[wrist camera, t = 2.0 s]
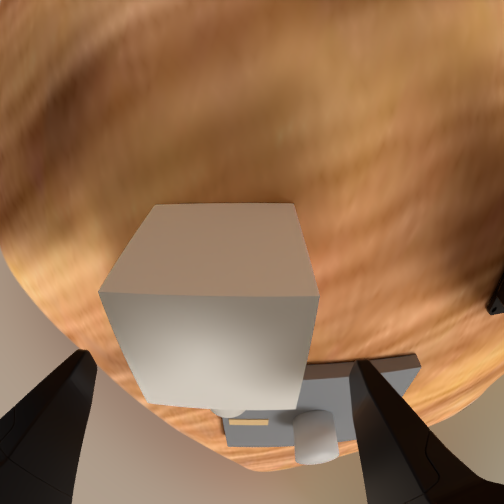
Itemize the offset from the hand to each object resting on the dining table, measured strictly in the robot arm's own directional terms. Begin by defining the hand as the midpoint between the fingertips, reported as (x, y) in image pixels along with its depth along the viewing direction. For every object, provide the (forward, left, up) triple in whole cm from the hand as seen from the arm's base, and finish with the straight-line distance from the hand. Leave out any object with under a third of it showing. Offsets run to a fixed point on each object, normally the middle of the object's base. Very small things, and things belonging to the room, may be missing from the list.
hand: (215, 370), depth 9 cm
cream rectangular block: (0, +2, -6) cm, 6 cm away
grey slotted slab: (-6, +14, -6) cm, 16 cm away
